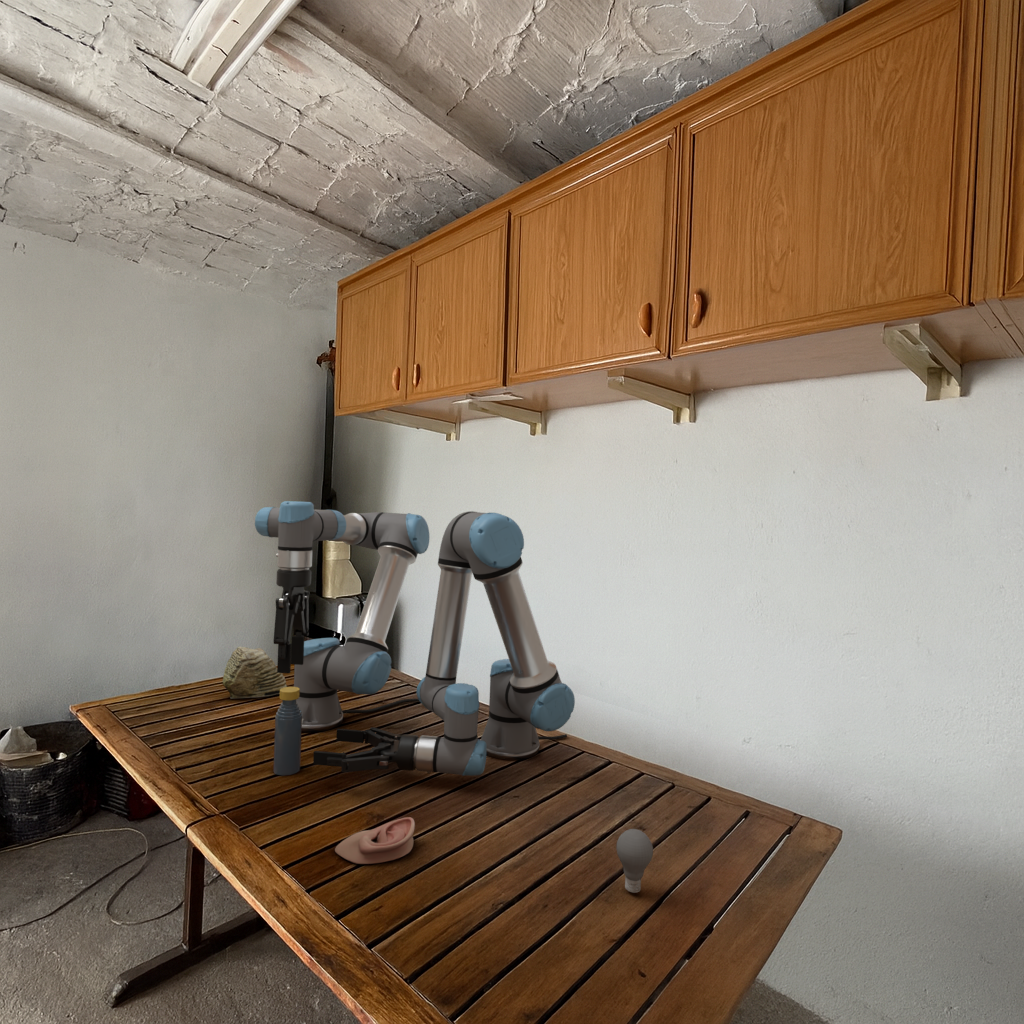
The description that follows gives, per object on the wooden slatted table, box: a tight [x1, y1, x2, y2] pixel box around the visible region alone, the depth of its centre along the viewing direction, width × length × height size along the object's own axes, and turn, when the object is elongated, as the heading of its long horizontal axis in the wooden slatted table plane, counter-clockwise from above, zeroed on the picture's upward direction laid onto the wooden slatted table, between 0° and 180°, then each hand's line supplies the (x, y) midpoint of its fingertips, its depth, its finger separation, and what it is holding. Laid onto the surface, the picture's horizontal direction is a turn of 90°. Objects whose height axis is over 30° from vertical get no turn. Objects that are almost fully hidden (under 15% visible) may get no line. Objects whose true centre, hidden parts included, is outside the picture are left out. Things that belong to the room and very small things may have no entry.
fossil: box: [222, 646, 288, 699], centre depth 198 cm, size 9×18×15 cm, turn 132°
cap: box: [279, 686, 300, 701], centre depth 146 cm, size 4×4×2 cm
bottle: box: [272, 699, 303, 776], centre depth 146 cm, size 6×6×18 cm
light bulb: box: [615, 828, 654, 894], centre depth 106 cm, size 6×6×10 cm
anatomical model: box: [334, 816, 416, 865], centre depth 115 cm, size 13×4×12 cm
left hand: (290, 668), depth 145 cm, fingers open, 7 cm apart
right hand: (325, 745), depth 144 cm, fingers open, 13 cm apart
